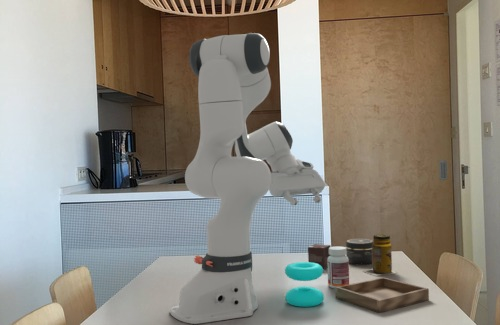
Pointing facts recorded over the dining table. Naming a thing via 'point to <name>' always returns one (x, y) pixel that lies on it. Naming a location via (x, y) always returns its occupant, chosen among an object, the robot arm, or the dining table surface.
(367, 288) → the tray
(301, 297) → the donuts
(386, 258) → the condiment
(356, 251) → the jar
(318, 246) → the box
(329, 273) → the pill bottle
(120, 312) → the dining table surface
